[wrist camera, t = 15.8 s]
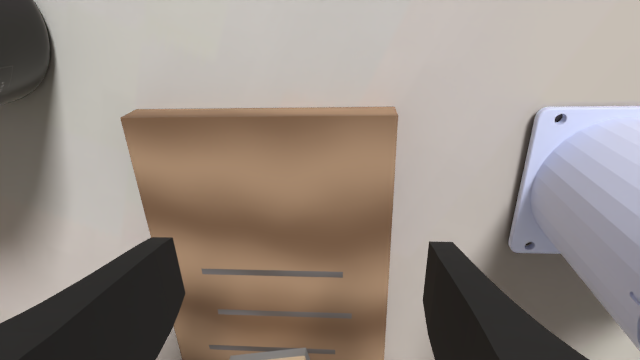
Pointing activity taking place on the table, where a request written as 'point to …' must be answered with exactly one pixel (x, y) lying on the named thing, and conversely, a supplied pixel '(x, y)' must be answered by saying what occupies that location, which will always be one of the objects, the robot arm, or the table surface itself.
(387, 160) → the board
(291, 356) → the block
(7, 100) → the supplement bottle
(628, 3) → the table surface
